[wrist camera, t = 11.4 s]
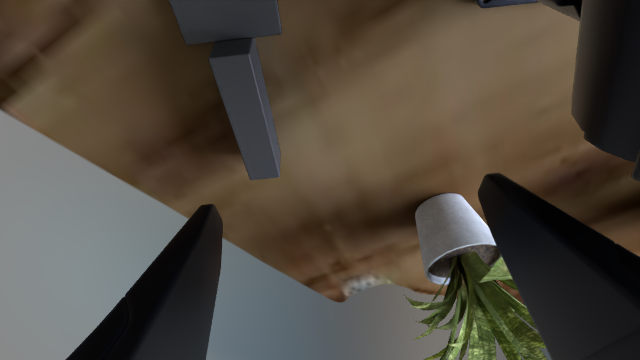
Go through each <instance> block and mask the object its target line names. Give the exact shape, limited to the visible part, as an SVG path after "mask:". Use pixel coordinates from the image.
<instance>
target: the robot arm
mask: <svg viewBox="0 0 640 360" xmlns="http://www.w3.org/2000/svg"><path fill="white" fill-rule="evenodd" d="M475 2H476V4H477V5H478V6H480V7H481V8H491V7H500V6H509V5H518V4H527V3H536V2H540V3H542V4H544V5H547V6H549V7H551V8H553V9H555V10H557V11H559V12H561V13H563V14H565V15H568V16H570V17H572V18H574V19H576V20H578V21H580V27H579V37H578V46H577V55H576V65H575V74H574V83H573V93H572V115H573V117H574V118H575V120H576V122H577V123H578V125H579V126H580V128H581V130H583V131H584V138H585V140H586V141H588V142H590V143H591V144H593V145H594V146H596V147H597V148H599V149H600V150H602V151H605V152H607V153H610V154H612V155H615V156H618V157H620V158H623V159H625V160H629V161H633V162H635V165H634V168H633V171H632V174H631V176H632V178H633V179H635V180H638V181H640V0H485V1H483V0H475ZM478 197H479V201H480V203H481V206H482V209H483V212H484V215H485V218H486V221H487V223H488V226H489V229H490V232H491V235H492V237H493V239H494V242H495V244H496V246H497V248H498V250H499V252H500V254H501V256H502V258H503V260H504V262H505V264H506V266H507V268H508V270H509V273H510V275H511V277H512V279H513V281H514V283H515V285H516V287H517V289H518V291H519V293H520V295H521V297H522V299H523V301H524V303H525V305H526V307H527V310H528V312H529V314H530V316H531V318H532V320H533V322H534V324H535V326H536V328H537V330H538V332H539V334H540V336H541V338H542V340H543V342H544V344H545V347H546V348H547V350H548V352H549V355H550V357H551V359H552V360H640V257H639V256H637V255H636V254H634V253H632V252H631V251H629V250H627V249H626V248H624V247H622V246H621V245H619V244H615V242H614V241H612V240H610V239H609V238H607V237H605V236H604V235H602V234H600V233H599V232H597V231H596V230H594V229H592V228H591V227H589V226H587V225H586V224H584V223H582V222H581V221H579V220H577V219H576V218H574V217H572V216H571V215H569V214H567V213H566V212H564V211H562V210H561V209H559V208H557V207H556V206H554V205H552V204H551V203H549V202H547V201H546V200H544V199H542V198H541V197H539V196H537V195H536V194H534V193H532V192H531V191H529V190H527V189H526V188H524V187H523V186H521V185H519V184H518V183H516V182H514V181H513V180H511V179H509V178H508V177H506V176H504V175H503V174H501V173H491V174H486V175H485V176H484V178H483V181H482V183H481V185H480V188H479V190H478ZM222 233H223V222H222V219H221V216H220V214H219V212H218V210H217V209H216V207H215V205H213V204H208V205H202V206H200V207H199V208H198V209H197V210H196V212H195V213H194V214H193V215H192V216H191V218H190V219H189V220H188V221H187V222H186V223H185V225H184V226H183V227H182V228H181V229H180V231H179V232H178V233H177V234H176V235H175V236H174V238H173V239H172V240H171V242H169V244H168V245H167V246H166V247H165V248H164V250H163V251H162V252H161V253H160V254H159V255H158V257H157V258H156V259H155V260H154V261H153V262H152V264H151V265H150V266H149V267H148V268H147V270H146V271H145V272H144V273H143V274H142V275H141V277H140V278H139V279H138V280H137V281H136V283H135V284H134V285H133V286H132V287H131V288H130V290H129V291H128V292H127V293H126V295H125V297H123V298H122V299H121V300H120V301H119V303H118V304H117V305H116V306H115V307H114V309H113V310H112V311H111V312H110V313H109V314H108V315H107V316H106V318H105V319H104V320H103V321H102V322H101V323H100V324H99V326H97V328H96V329H95V330H94V331H93V332H92V333H91V334H90V335H89V336H88V337H87V338H86V339H85V340H84V341H83V342H82V344H80V345H79V347H77V348H76V349H75V351H74V352H73V353H72V354H71V355H70V356H69V357H68V358H67V359H66V360H206V354H207V348H208V342H209V336H210V330H211V324H212V318H213V312H214V306H215V300H216V294H217V288H218V282H219V276H220V269H221V254H222Z"/></svg>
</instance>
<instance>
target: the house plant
mask: <svg viewBox="0 0 640 360" xmlns="http://www.w3.org/2000/svg"><path fill="white" fill-rule="evenodd" d="M415 219H416V225H417V231H418V237H419V242H420V248H421V254H422V260H423V266H424V272H425V275H426V278H427V279H429V280H430V281H431V282H434V283H436V284H442V286H441V288H440V289H439V291H438V292H437V294H436V295H435V297H434V299H433V301H434V300H435V299H436V297H437V296H438V295H439V293H440V291H441V289H442V288H443V286H444V285H448V287H447V290H446V294H445V297H444V300H443V302H439V303H424V302H417V301H413V300H411V299H409V298H407V297H406V298H407V299H408V301H409V302H410V303H411V304H412V305H413V307H414V308H418V309H422V310H434V309H437V310H436V311H435V312H434V313H433V314H431V315H430V316H429V317H427V318H426V319H424V320H423V321H421V322H420V323H424V324H427V325H428V324H431V326H429V325H428V326H429V328H428V330H427V331H426V332H425V333H424V334H422V335H421V336H419V337H417V338H415V339H418V338H421V337H424V336H427V335H428V334H430V333H431V332H432V331H433V330H434V329H436V328H437V327H436V326H437V325H438V324H439V322H440V321H442V320H443V319H444V318H445V317H446V315H447V314H448V313H449V312H450V310H451V308H452V306H453V304H454V302H455V300H456V295H457V291H458V297H457V303H456V309H455V314H454V316H453V318H452V319H451V320H450V321H449V322H448V323H447V324H445V325H444V326H441V327H439V328H438V329H444V330H446V329H452V331H451V335H450V338H449V341H448V344H447V347H446V348H444V349H443V350H442V351H440V352H439V353H437V354H435V355H433V356H431V357H429V358H426V359H425V360H432V359H435V358H438V357H440V356H442V357H441V358H440V360H447V358H448V356H449V354H450V352H451V351H452V352H451V354H450V356H449V358H448V360H455V358H456V357H457V355H458V352H459V350H460V348H461V352H460V357H459V360H462V358H463V357H464V355H465V353H466V348H467V345H468V339H469V338H470V342H469V354H468V360H496V346H495V338H496V340H497V341H498V343H499V345H500V347H501V349H502V350H503V353H504V354H505V356H506V358H507V360H522V359H521V357H520V355H519V353H520V354H521V356H522V357H523V358H524V359H525V360H547V358H546V357H545V356H544V354H543V353H542V352H541V350H540V348H546V347H545V344H544V342H543V340H542V338H541V336H540V334H539V333H537V332H536V331H535V330H533V329H532V328H530V327H529V326H528V325H527V324H526V323H525V322H523V321H522V320H521V319H520V318H519V317H518V316H517V315H516V314H515V313H514V312H513V311H515V312H516V313H517V314H518V315H519V316H520V317H521V318H523V319H524V320H525V321H526V322H527V323H529V324H530V325H531V326H532V327H534V328H535V329H537V328H536V326H535V324H534V322H533V320H532V318H531V316H530V314H529V312H528V310H527V307H526V306H524V305H523V304H522V303H520V302H519V301H518V300H517V299H516V298H514V297H513V296H512V295H510V294H509V293H508V292H506V291H505V290H504V289H503V288H502V287H501V286H500V285H499V284H498V283H497V282H496V280H499V281H501V282H503V283H504V284H506V285H508V286H509V287H511V288H513V289H515V290H518V289H517V287H516V285H515V283H514V281H512V280H510V279H512V277H511V275H510V273H509V270H508V268H507V266H506V264H505V262H504V260H503V258H502V256H501V254H500V252H499V250H498V248H497V246H496V244H495V242H494V239H493V237H492V235H491V232H490V229H489V227H488V226H487V225H486V224H485V222H484V221H483V220H482V219H481V218H480V217H479V215H478V214H477V213H476V212H475V211H474V210H473V208H472V207H471V206H470V205H469V204H468V203H467V202H466V200H465V199H464V198H463V197H462V196H461V195H458V194H452V193H447V194H441V195H437V196H434V197H432V198H430V199H428V200H426V201H425V202H423V203H422V204H421V205H420V206H419V207H418V209H417V211H416V213H415ZM465 310H466V311H465ZM464 313H465V317H464V322H463V325H462V329H461V332H460V334H459V337H458V338H457V339H456V340H454V339H455V334H456V328H457V324H458V323H459V322H460V321H461V319H462V318H463V315H464ZM494 336H495V338H494ZM461 346H462V347H461ZM539 347H540V348H539ZM516 349H517V350H518V352H519V353H518V352H517V350H516Z"/></svg>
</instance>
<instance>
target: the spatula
mask: <svg viewBox="0 0 640 360" xmlns="http://www.w3.org/2000/svg"><path fill="white" fill-rule="evenodd" d="M169 2H170V4H171V7H172V9H173V12H174V14H175V17H176V20H177V22H178V25H179V27H180V30H181V33H182V35H183V38H184V40H185V43H186V45H191V44H199V43H208V42H215V45H214V47H213V49H212V51H211V53H210V55H209V58H208V60H209V63H210V66H211V69H212V72H213V74H214V77H215V80H216V83H217V86H218V89H219V92H220V95H221V98H222V100H223V103H224V106H225V109H226V112H227V115H228V118H229V121H230V123H231V126H232V129H233V132H234V135H235V138H236V141H237V144H238V146H239V149H240V152H241V155H242V158H243V161H244V164H245V167H246V170H247V172H248V175H249V178H250V180H257V179H266V178H276V177H280V156H281V152H280V148H279V144H278V139H277V135H276V130H275V126H274V121H273V117H272V113H271V108H270V104H269V99H268V95H267V91H266V86H265V82H264V77H263V73H262V68H261V64H260V60H259V55H258V51H257V46H256V42H255V38H254V37H261V36H270V35H279V34H282V27H281V21H280V15H279V9H278V3H277V0H169Z"/></svg>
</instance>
